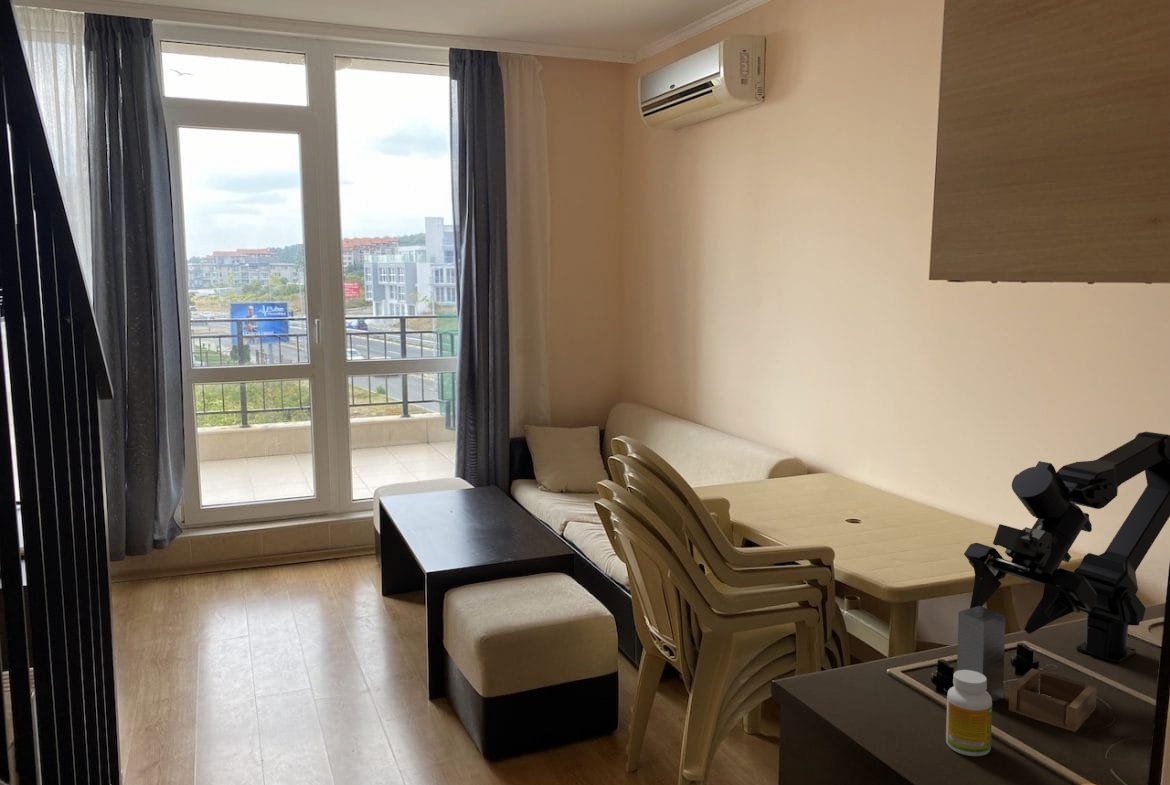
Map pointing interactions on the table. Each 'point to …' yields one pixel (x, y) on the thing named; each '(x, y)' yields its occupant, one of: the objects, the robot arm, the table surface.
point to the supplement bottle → (969, 714)
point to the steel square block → (982, 646)
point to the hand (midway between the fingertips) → (998, 621)
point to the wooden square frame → (1053, 699)
